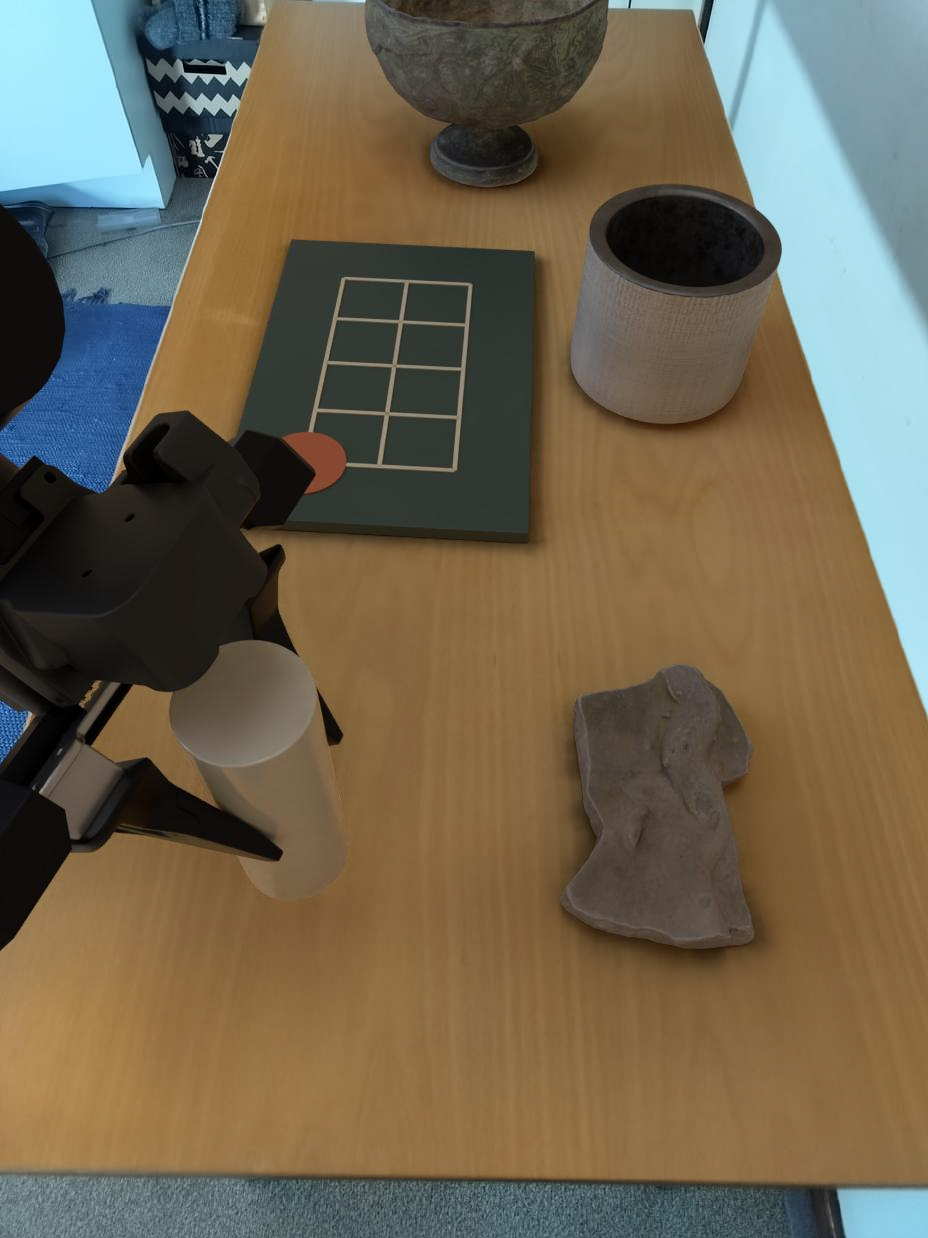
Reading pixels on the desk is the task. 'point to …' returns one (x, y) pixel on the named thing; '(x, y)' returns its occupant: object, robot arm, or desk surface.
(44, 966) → the desk surface
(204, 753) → the white upright cylinder
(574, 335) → the planter
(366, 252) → the board
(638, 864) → the stone
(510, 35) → the bowl
